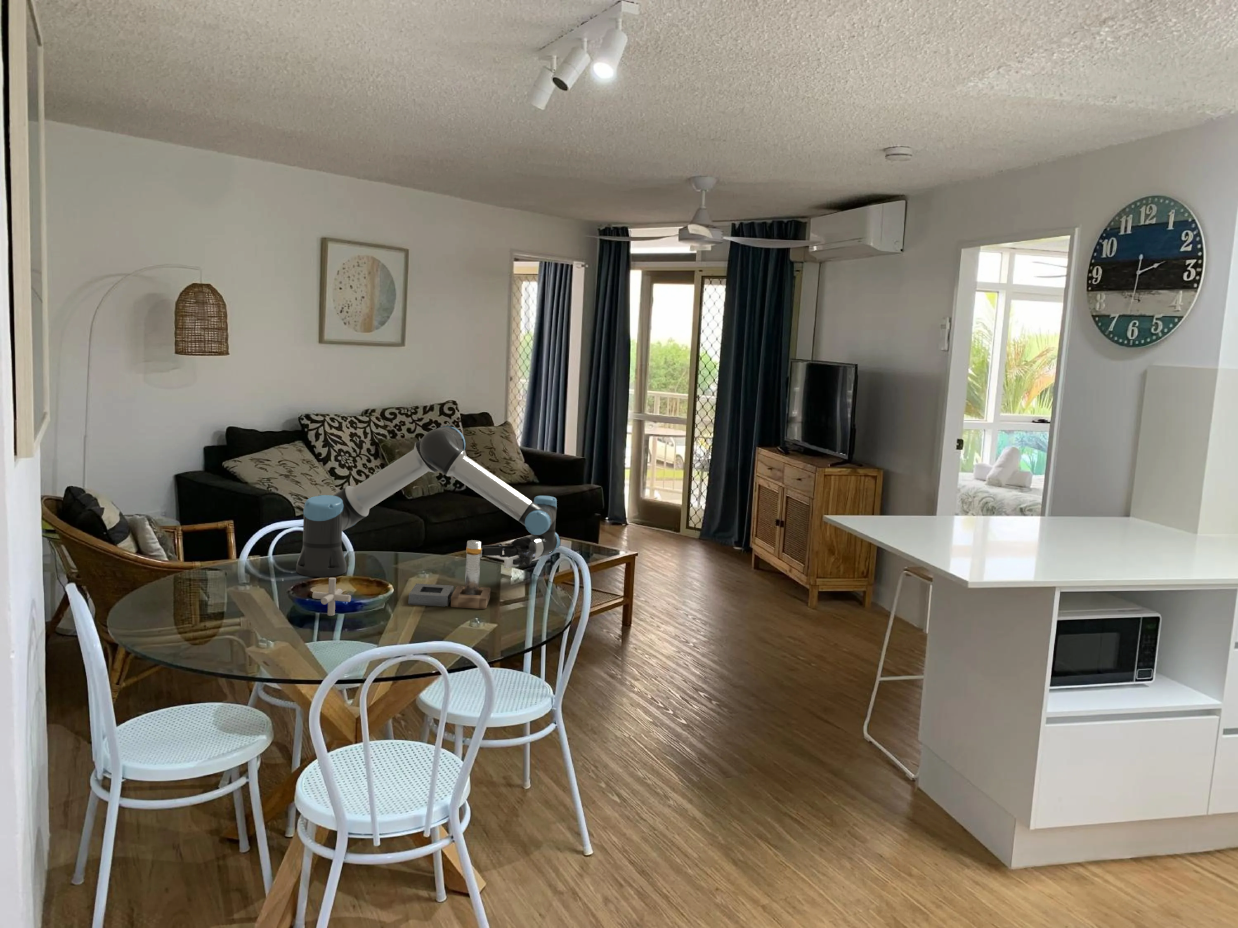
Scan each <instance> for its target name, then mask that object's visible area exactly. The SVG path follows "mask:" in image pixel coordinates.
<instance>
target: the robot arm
mask: <svg viewBox="0 0 1238 928" xmlns="http://www.w3.org/2000/svg"><path fill="white" fill-rule="evenodd" d="M438 471H439V472H441V473H442V475H443V474H444V475H445V476H446V477H453V478H455V479H456V480H457V481H459V482H461V483H462V484H464V485H465V486H467V487H468V488H469V489H471V490H473V491H474V492H475V493H477V494H478V495H480V496H481V497H483V498H484V499H486V500H487V501H489V502H490V503H491V504H493V505H494V506H496V507H497V508H499V510H502V511H503V512H504V513H506V514H507V515H509V516H510V517H512V518H513V519H515V520H516V521H518V522H519V523H521V524H522V526H524V527H525V529H526V530H527V531H528V533H530V534H531V535H526V536H523V537H519V538H516V539H513V541H512V542H511V543H510V544H507V545H503V543H496V544H488V545H487V544H486V545H485V544H484V545H481V548H482V550H481V555H480V558H482V557H488V556H489V557H490V556H491V557H495V556H499V557H500V558H504V560H503V561H504V563H503V564H504V565H503V568H504V569H508V568H511V567H515V566H519V565H521V566H523V565H524V564H525V565H526V566H530V565H531V563H532V562H533V560H535V559H537V558H540V557H541V558H542V557H544V556H549V555H551V554H554V553H555V552H557V551H556V548H558V549H559V548H560V546H561V540H560V536H559V534H558V533H557V532H556V521H557V520H556V519H557V510H558V507H557V505H558V504H557V503H558V502H557V501H558V500H557V498H556V497H554V496H550V495H537V496H535V497H534V498H533V501H532V500H531V499H529V498H528V497H527V496H525V495H524V494H522V493H521V492H520V491H518V490H517V489H515V488H513V487H512V486H511V485H509V484H508V483H506V482H505V481H504V480H502V479H500V477H497V475H495V474H494V473H492V472H490V471H489V470H488V469H486V468H485V467H484V466H482V465H481V464H479V463H477V462H476V461H474V460H473V459H472V458H470V457H469V456H467V453H466V440H465V436H464V435H463V433H462V432H461V431H460V430H459V429H458V428H456V427H453V426H451V425H450V426H448V425H445V426H443V425H442V426H440V427H438V428H434V429H432V430H429V431H427V432H426V433H425V434H424V436H422V438H420V439H419V440H417V441H416V442H414V447H413V449H412V450H410V451H409V452H407V453H406V454H405V455H403V456H401V457H400V458H398V459H396V460H395V461H393V462H392V463H390V464H389V465H387V466H386V467H384V468H382V469H380V470H379V471H377V472H376V473H375V474H373V475H372V476H370V477H368V478H366V479H365V480H363V481H362V482H361V483H360V482H359V484H357V485H355V486H352V485H347V486H346V487H344V488H342V489H341V490H339V491H338V492H336V493H334V494H333V495H331V494H330V495H328V494H322V495H316V496H315V495H314V496H312V497H309V498H308V499H306V500H305V502H304V506H303V511H302V512H303V520H302V521H303V522H302V523H303V527H302V548H301V550H300V551H301V552H300V554H299V556H298V559H297V562H296V565H295V572H296V573H297V574H299V575H302V576H305V577H306V576H307V577H315V578H316V577H317V578H322V577H323V578H324V577H325V578H326V577H336V576H339V575H343V574H345V573H347V562H346V558H345V555H344V552H343V548H342V544H343V543H342V541H343V537H342V536H343V531H345V530H347V529H350V528H352V527H353V526H355V525H356V524H357V523H358V522H359V521H360V522H361V520H362V519H364V518H366V517H367V516H369V513H370V509H371V508H373V507H374V506H375V507H376V505H378V504H379V503H381V502H382V501H384V500H386V499H387V498H389V497H391V496H392V495H394V494H396V492H398V491H400V490H401V489H403V488H404V487H406V486H408V485H409V484H411V483H413V482H414V481H415V480H417V479H419V478H420V477H422V476H423V475H425V474H427V473H428V472H431V473H434V474H435V473H437V472H438ZM551 551H552V552H551ZM549 552H551V553H549Z"/></svg>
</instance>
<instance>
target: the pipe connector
mask: <svg viewBox="0 0 1238 928" xmlns="http://www.w3.org/2000/svg"><path fill="white" fill-rule="evenodd" d="M336 582H337V578H336V577H329V578H328V591H327V592H321V591H313V592H312V599H317V600H319V599H320V602H321V604H322V605H327V616H328V617H329V616H330V617H331V616H335V614H336V611H335V610H336V601H337V602H346V603H347V602H348V603H350V602H351V601H352V595H350V594H343V592H344V591H343V589H341V588H337V585H336V584H337V583H336ZM336 588H337V589H336Z"/></svg>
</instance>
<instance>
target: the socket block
mask: <svg viewBox="0 0 1238 928" xmlns="http://www.w3.org/2000/svg"><path fill="white" fill-rule="evenodd" d="M453 592H454V585H449V584H448V585H446V584H433V583H431V584H430V583H415V584H414V586H413V587H412V589H410V592H409V593H408V600H407V601H408V603H407V604H408V605H414V606H430V607H445V606H447V607H448V606H449V604H450V603H451V596H452V594H453Z"/></svg>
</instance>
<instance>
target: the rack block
mask: <svg viewBox="0 0 1238 928" xmlns="http://www.w3.org/2000/svg"><path fill="white" fill-rule="evenodd" d="M491 590H492V588H491V587H481V586H479V592H478V595H464V594H465V585H463V586H462V585H457V586H456V587H455V589H453V594H452V596H451V600H450V607H451V608H463V609H465V608H466V609H481V610H484V609H485V610H487V607H488V604H489V601H490V598H491Z"/></svg>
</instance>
